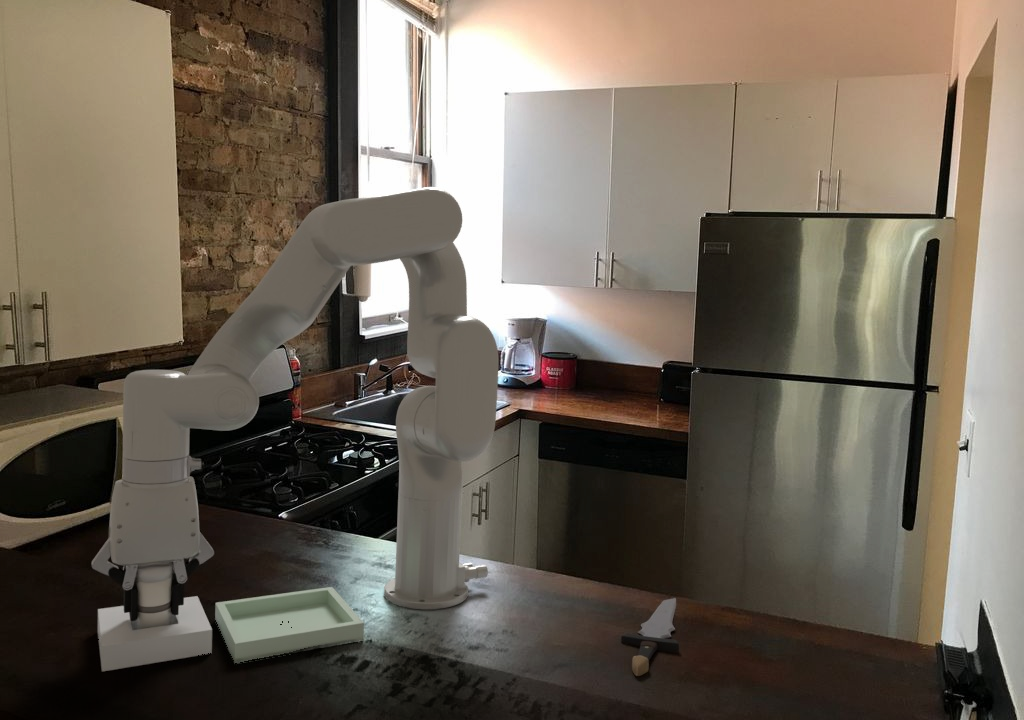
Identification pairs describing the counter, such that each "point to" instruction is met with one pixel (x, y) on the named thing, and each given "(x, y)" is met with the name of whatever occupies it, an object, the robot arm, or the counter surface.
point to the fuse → (154, 594)
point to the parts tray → (286, 623)
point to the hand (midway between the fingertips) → (153, 612)
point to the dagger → (653, 636)
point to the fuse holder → (152, 637)
